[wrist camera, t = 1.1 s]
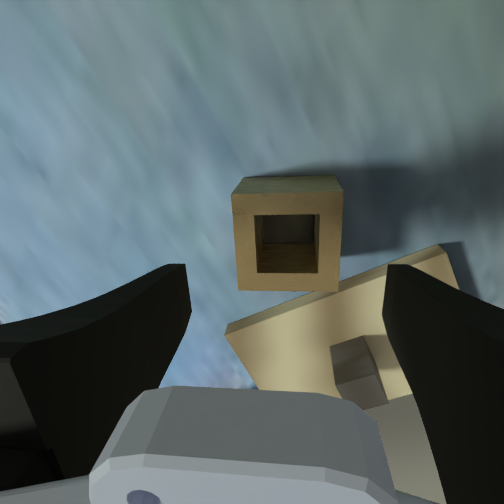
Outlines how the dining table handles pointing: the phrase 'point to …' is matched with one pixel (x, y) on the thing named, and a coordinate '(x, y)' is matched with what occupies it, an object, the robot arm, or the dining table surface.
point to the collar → (288, 254)
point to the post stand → (332, 338)
